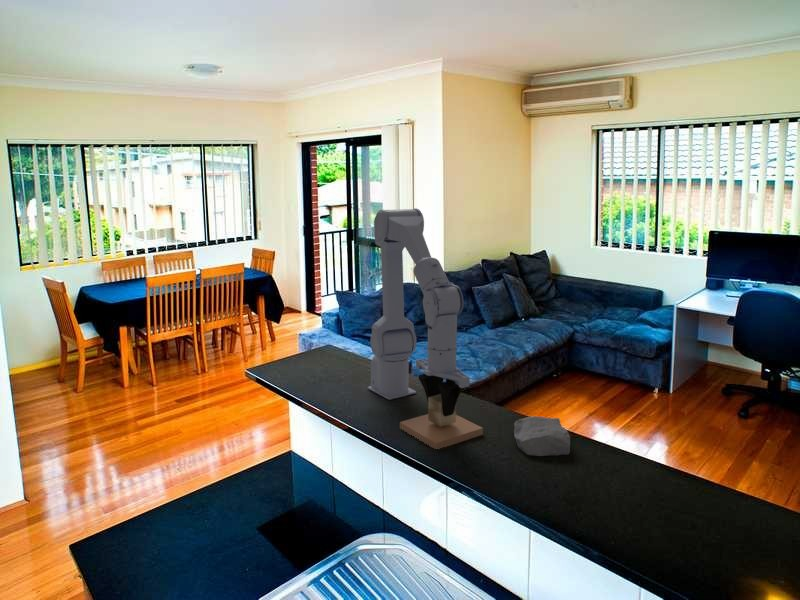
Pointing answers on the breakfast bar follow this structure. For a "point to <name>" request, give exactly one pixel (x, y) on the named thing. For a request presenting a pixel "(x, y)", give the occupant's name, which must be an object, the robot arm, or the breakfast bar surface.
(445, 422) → the birch block
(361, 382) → the breakfast bar surface
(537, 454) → the stone block
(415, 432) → the terracotta tile
